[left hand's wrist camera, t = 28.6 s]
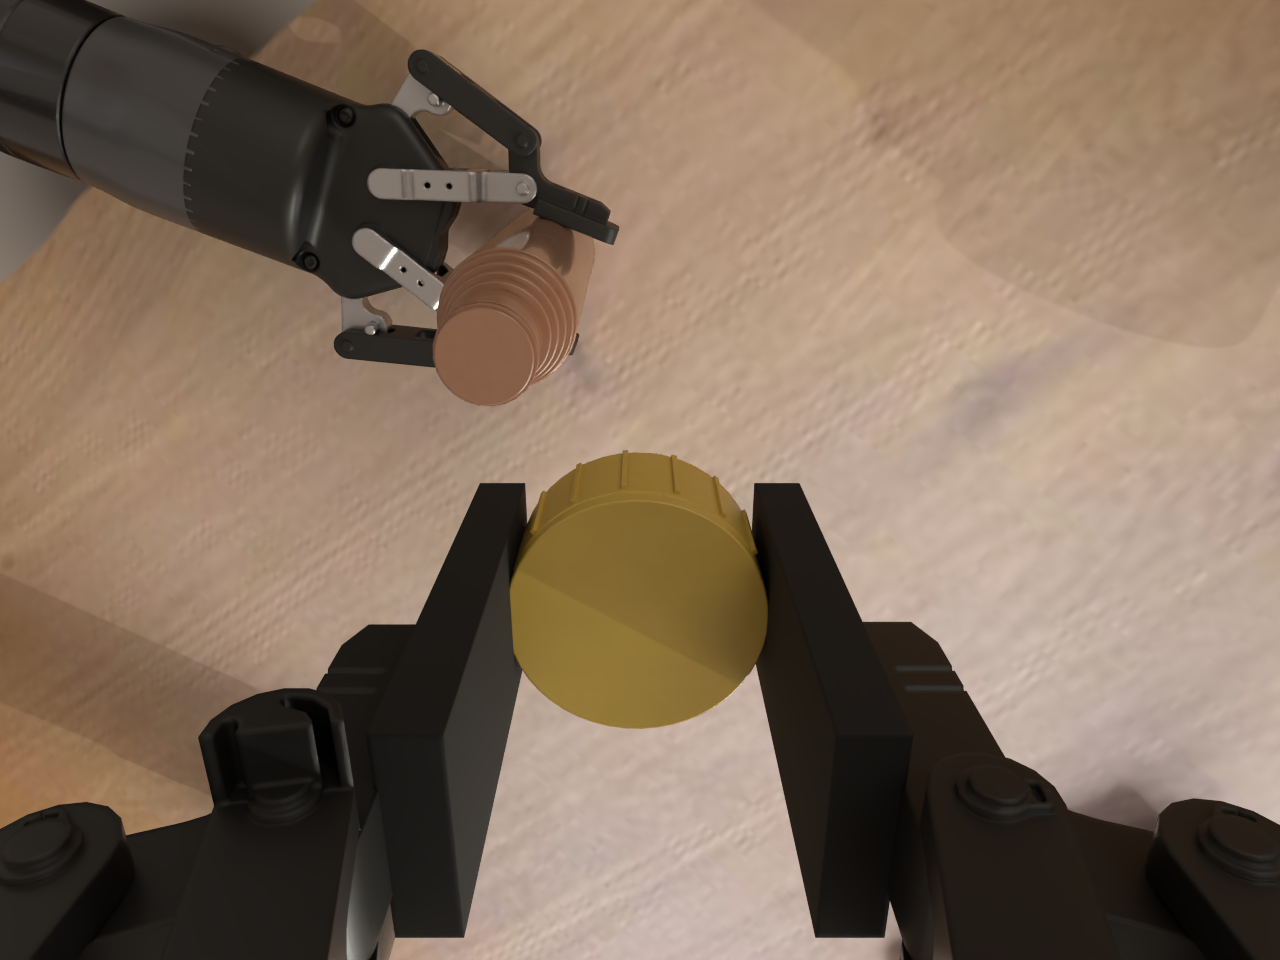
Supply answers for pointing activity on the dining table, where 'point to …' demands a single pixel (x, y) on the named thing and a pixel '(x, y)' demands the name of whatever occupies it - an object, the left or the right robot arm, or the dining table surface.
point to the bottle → (512, 310)
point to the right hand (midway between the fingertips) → (594, 290)
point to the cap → (637, 592)
